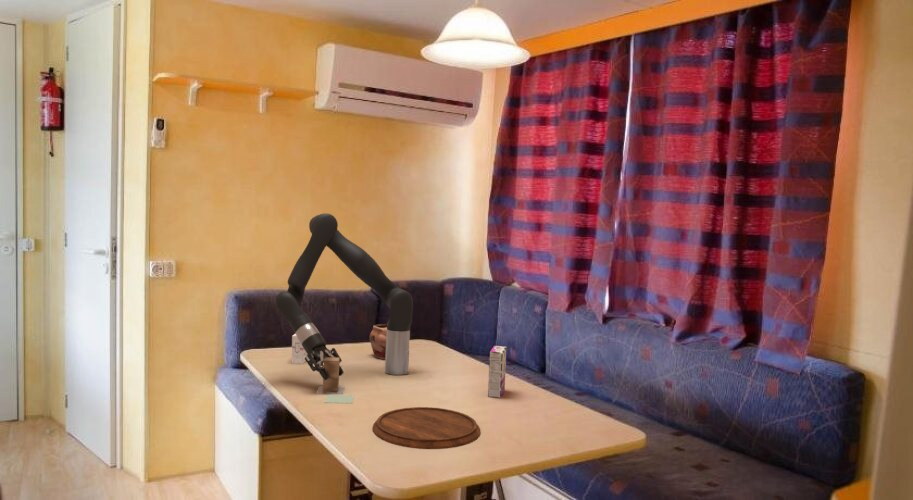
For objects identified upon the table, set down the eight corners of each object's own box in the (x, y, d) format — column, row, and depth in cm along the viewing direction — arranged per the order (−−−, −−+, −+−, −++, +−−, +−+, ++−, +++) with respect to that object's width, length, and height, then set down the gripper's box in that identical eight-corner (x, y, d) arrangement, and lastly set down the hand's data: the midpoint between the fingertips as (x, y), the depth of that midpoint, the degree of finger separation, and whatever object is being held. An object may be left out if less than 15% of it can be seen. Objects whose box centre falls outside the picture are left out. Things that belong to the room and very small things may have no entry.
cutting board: (422, 407, 215) (423, 400, 215) (501, 431, 195) (502, 423, 195) (349, 429, 191) (350, 421, 191) (431, 459, 171) (431, 450, 170)
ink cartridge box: (296, 359, 273) (297, 324, 272) (308, 359, 273) (309, 325, 272) (290, 363, 265) (292, 328, 264) (302, 364, 265) (304, 328, 264)
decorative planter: (359, 353, 291) (361, 322, 290) (383, 350, 298) (385, 320, 297) (381, 362, 274) (383, 330, 274) (406, 359, 281) (407, 328, 281)
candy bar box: (491, 389, 241) (493, 345, 240) (504, 390, 240) (507, 346, 239) (486, 397, 230) (489, 351, 229) (500, 398, 229) (503, 352, 228)
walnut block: (338, 388, 231) (339, 357, 230) (337, 392, 226) (338, 360, 225) (324, 387, 230) (325, 357, 229) (322, 391, 225) (323, 360, 224)
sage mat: (353, 396, 223) (354, 395, 223) (352, 404, 214) (352, 403, 214) (327, 396, 222) (327, 394, 222) (324, 403, 213) (324, 402, 213)
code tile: (344, 388, 233) (344, 387, 233) (342, 395, 224) (342, 394, 224) (319, 387, 232) (319, 386, 232) (316, 394, 223) (316, 393, 223)
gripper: (302, 335, 224) (327, 374, 219) (329, 329, 237) (354, 366, 232) (290, 348, 227) (314, 387, 222) (318, 342, 240) (341, 378, 234)
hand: (334, 376), depth 227 cm, fingers closed on walnut block, 7 cm apart
